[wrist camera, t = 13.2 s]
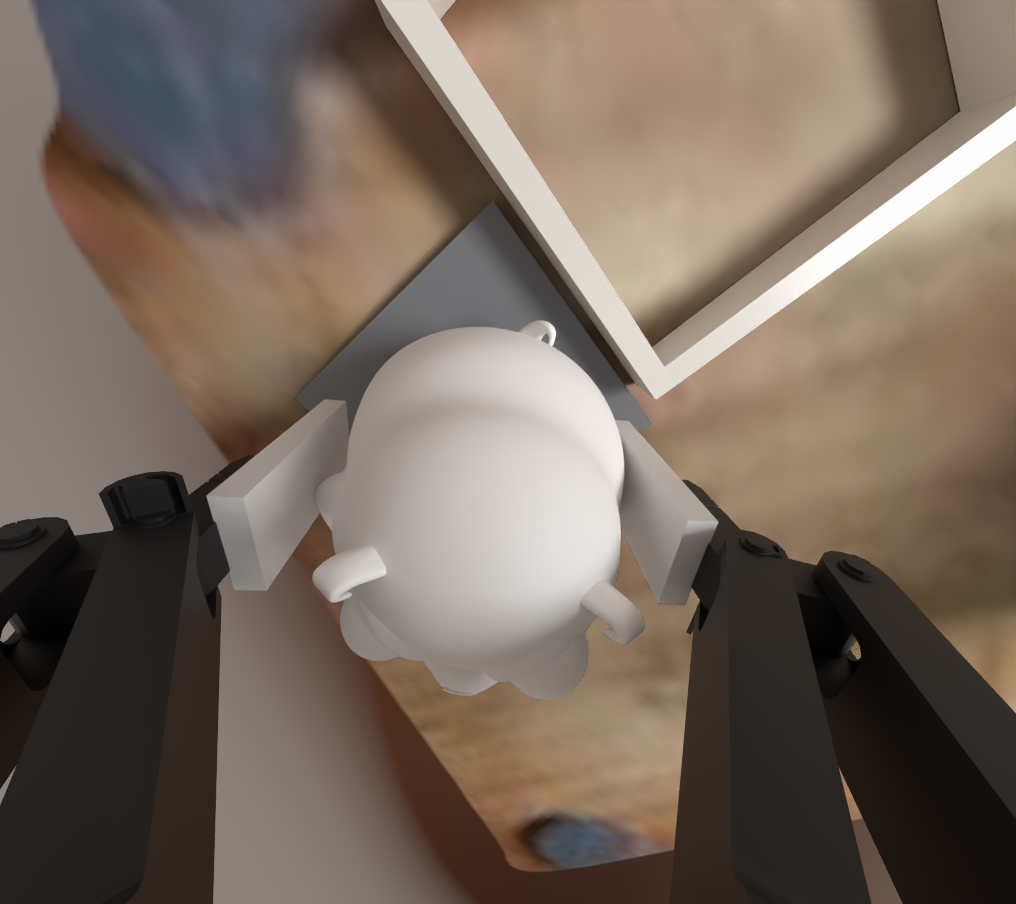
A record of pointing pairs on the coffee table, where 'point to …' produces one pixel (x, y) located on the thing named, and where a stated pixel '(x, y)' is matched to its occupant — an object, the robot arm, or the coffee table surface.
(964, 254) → the coffee table surface
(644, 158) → the coffee table surface
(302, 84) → the coffee table surface
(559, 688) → the figurine
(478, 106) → the bin frame
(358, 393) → the coaster pad
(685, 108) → the coffee table surface
